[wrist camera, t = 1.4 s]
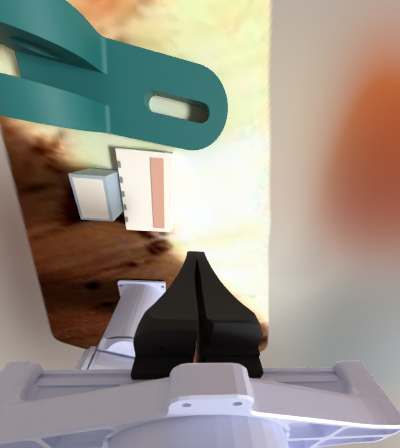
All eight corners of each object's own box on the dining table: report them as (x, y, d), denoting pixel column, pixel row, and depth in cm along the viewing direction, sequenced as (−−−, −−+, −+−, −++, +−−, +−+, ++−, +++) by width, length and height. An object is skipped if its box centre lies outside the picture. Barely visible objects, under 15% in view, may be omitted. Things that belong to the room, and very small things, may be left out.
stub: (124, 209, 21) (112, 221, 18) (97, 207, 21) (80, 219, 18) (119, 170, 19) (104, 176, 16) (89, 168, 19) (67, 173, 16)
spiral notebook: (172, 227, 23) (171, 232, 22) (129, 225, 23) (126, 230, 22) (173, 152, 19) (171, 153, 17) (119, 147, 18) (114, 148, 17)
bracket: (49, 119, 17) (-51, 104, 10) (31, 28, 14) (-131, -85, 7) (215, 154, 19) (228, 162, 12) (231, 82, 16) (260, 39, 9)
